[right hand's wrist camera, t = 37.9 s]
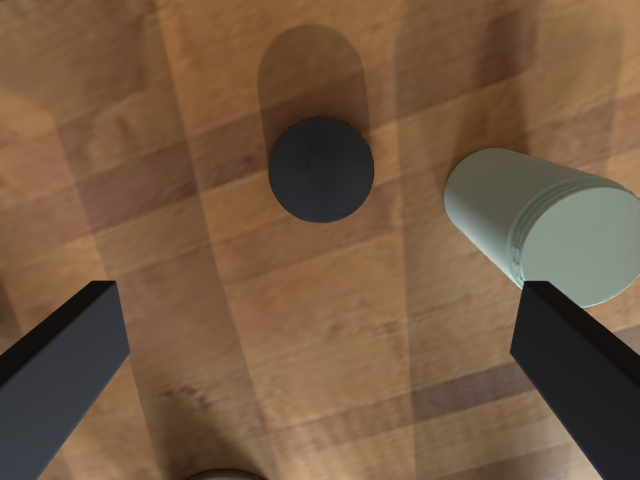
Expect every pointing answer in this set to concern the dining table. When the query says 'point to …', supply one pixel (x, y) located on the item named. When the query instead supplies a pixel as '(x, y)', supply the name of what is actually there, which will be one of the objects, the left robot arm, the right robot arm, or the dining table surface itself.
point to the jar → (548, 223)
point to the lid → (321, 170)
